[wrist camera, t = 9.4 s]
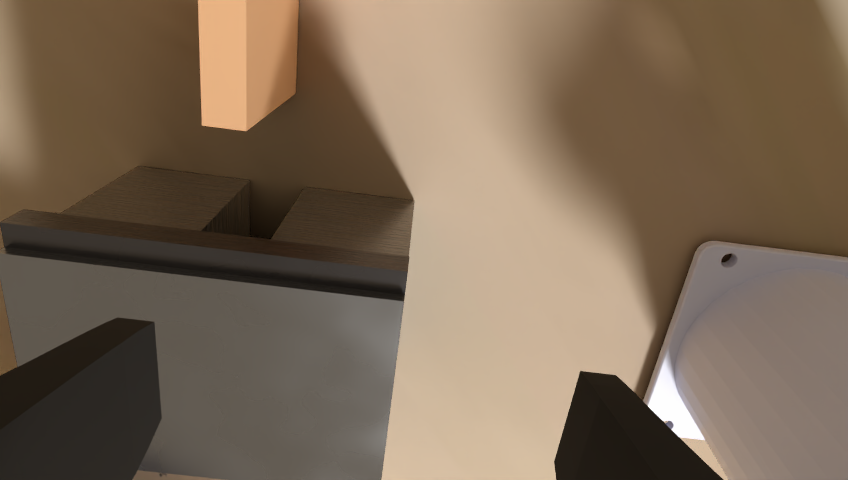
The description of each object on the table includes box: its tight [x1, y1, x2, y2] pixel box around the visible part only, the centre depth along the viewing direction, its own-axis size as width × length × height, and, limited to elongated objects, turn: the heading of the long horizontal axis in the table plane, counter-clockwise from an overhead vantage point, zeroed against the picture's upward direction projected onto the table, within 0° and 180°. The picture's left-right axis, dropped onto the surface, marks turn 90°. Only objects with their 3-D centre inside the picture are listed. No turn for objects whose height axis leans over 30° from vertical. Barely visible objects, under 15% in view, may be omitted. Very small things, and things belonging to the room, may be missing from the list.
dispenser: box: [0, 166, 414, 480], centre depth 17 cm, size 9×7×7 cm
